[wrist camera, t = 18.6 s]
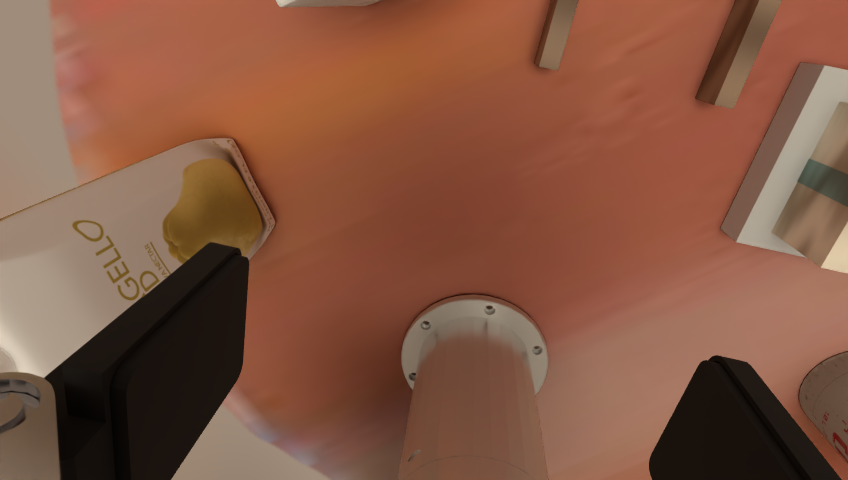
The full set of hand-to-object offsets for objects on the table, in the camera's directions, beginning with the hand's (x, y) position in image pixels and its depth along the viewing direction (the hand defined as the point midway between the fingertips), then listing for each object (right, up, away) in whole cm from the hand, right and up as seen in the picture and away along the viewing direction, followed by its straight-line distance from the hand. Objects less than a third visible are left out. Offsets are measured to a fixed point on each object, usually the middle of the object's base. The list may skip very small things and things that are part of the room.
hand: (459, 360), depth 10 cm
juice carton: (-17, +6, +30) cm, 35 cm away
